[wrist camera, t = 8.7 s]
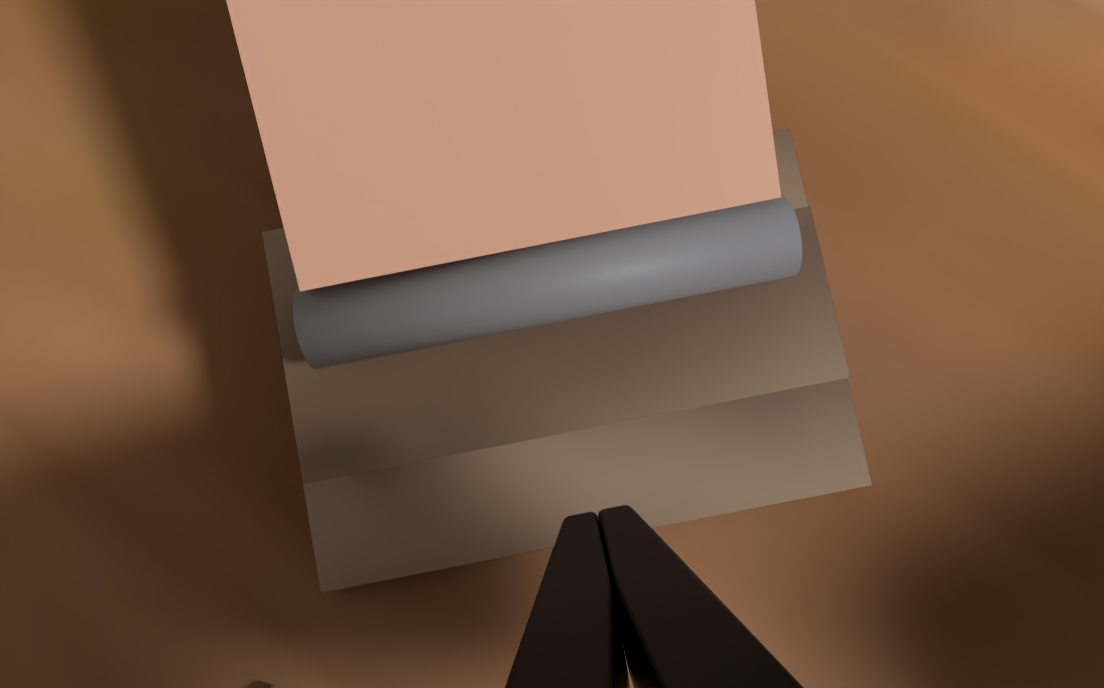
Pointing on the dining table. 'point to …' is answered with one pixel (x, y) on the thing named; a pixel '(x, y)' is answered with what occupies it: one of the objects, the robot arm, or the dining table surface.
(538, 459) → the plinth
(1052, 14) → the dining table surface
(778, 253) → the number flap
